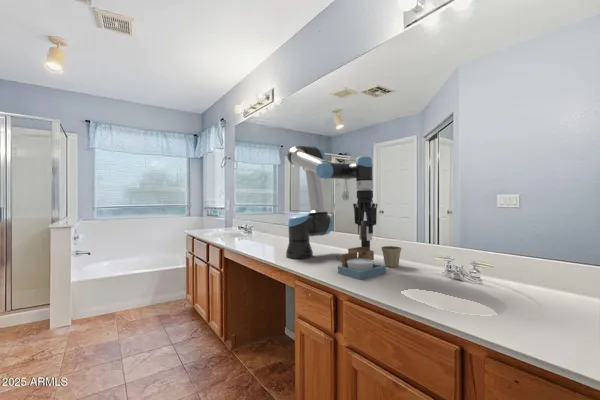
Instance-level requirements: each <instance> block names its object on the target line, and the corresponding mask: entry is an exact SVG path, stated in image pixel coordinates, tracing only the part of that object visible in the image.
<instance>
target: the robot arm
mask: <svg viewBox="0 0 600 400" xmlns="http://www.w3.org/2000/svg"><path fill="white" fill-rule="evenodd" d="M286 156H287V157H286V158H287V160H288V162H289V163H290V164H291V165H294V166H296V167H299V166H300V167H301V168H302V170H303V171H304V172H305V175H306V184H307V185H306V186H307V193H308V204H309V212H308V213H304V214H303V213H302V214H301V213H300V214H296V215H292V216H289V218H288V225H287V226H288V245H287V248H286V252H285V257H286V258H289V259H294V260H295V259H309V258H313V256H314V254H313V253H314V252H313V249H312V248H313V247H312V246H311V245H312V244H311V243H310V237H317V236H319V237H320V236H322V237H323V236H327V235H329V234H330V233H331V231H332V230H333V225H334V221H333V218H332V216H331V215H329V213H328V211H327V210H326V208H325V203H324V202H325V201H324V193H323V187H322V179H324V180H325V179H326V180H327V179H333V180H335V179H338V180H353V179H356V180H355V181H356V184H355V185H356V199H357V201H356V203H353V204H352V207H353V213H354V224H355V225H357V226H358V227H357V228H358V229H357V231H358V236H359V238H358V240H360V241H361V221H365V220H364V218H365V216H366V221H367V223H368V225H367V226H366V227H367V241H369V240H370V241H373V233H374V228H373V227H374V226H375V225H377V208H378V206H379V205H378V203H375V202H374V201H373V198H374V193H373V192H374V191H373V188H374V184H373V183H374V182H373V177H374V176H373V167H374V165H373V158H372V157H371V156H358V157H357V158H356V159H355V162H354V163H352V162H351V163H343V162H342V163H340V162H339V163H337V162H330V161H328V160H326V156H325V152H324V150H323V149H322V148H320V147H318V146H311V145H310V146H307V145H294V146H292V147H291V148H290V149H289V150H288V152H287V155H286Z"/></svg>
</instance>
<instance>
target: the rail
mask: <svg viewBox="0 0 600 400" xmlns="http://www.w3.org/2000/svg"><path fill="white" fill-rule="evenodd" d="M342 254H343V253H339V254H336V261H338V262H342ZM357 258H358V256H357Z"/></svg>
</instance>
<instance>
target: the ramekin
mask: <svg viewBox="0 0 600 400" xmlns="http://www.w3.org/2000/svg"><path fill="white" fill-rule="evenodd" d="M347 264H348V268H350V269H353V270H357V271H363V270H367V269H372V268H373V264H375V262H374V260H369V259H362V258H355V259H349V260H347Z"/></svg>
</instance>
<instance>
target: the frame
mask: <svg viewBox="0 0 600 400" xmlns="http://www.w3.org/2000/svg"><path fill="white" fill-rule="evenodd" d="M386 267H387V266H385V265H382V264H377V263H374V264H373V268H372V269H367V270H363V271H357V270H353V269H350V268H346V267H342V265H338V266H337V274H341V275H343V276H347V277H349V278H352V279H357V280H363V279H368V278H371V277H372V278H373V277H376V276H379V275H385V274H387V270H386Z"/></svg>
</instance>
